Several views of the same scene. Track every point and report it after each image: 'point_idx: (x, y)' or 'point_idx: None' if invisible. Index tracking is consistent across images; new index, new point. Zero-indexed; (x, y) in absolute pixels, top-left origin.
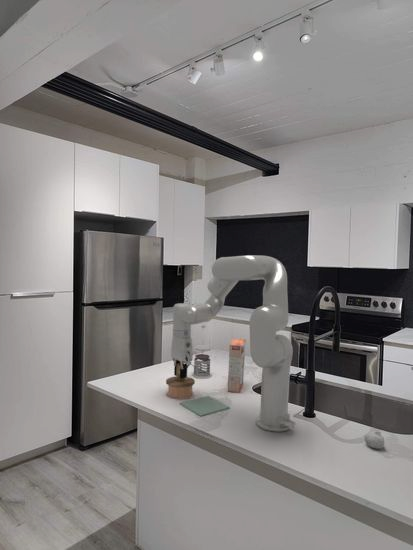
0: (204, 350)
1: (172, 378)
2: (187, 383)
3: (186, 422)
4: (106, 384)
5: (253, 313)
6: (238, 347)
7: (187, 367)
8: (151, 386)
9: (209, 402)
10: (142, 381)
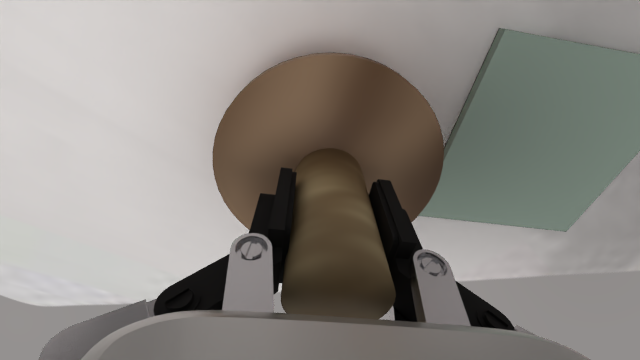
0: None
1: (249, 190)
2: (412, 180)
3: (528, 275)
4: (31, 283)
5: None
6: None
7: (444, 270)
8: (123, 172)
9: (558, 111)
10: (9, 162)
